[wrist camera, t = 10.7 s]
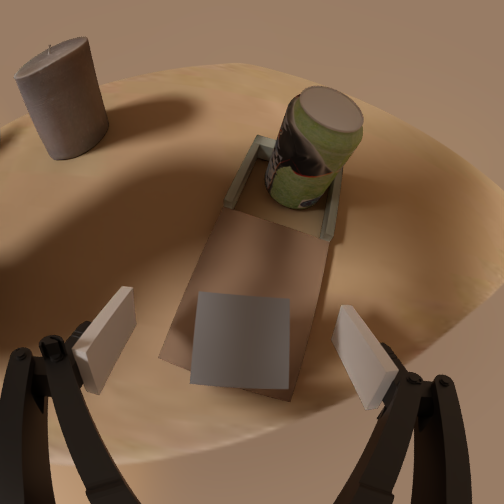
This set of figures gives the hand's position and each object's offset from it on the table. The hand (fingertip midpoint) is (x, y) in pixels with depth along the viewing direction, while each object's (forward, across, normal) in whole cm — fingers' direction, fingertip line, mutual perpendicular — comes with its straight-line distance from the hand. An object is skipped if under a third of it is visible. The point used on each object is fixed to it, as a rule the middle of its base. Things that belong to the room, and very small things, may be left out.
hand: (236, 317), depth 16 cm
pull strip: (+8, +3, +2) cm, 9 cm away
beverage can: (+13, +5, +6) cm, 16 cm away
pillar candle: (+19, -24, +12) cm, 33 cm away
